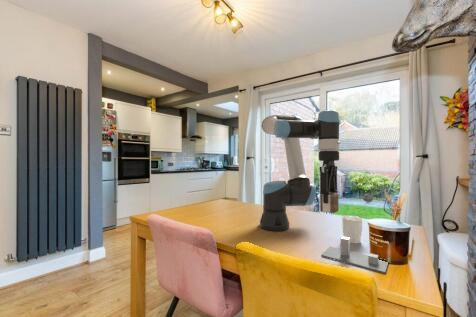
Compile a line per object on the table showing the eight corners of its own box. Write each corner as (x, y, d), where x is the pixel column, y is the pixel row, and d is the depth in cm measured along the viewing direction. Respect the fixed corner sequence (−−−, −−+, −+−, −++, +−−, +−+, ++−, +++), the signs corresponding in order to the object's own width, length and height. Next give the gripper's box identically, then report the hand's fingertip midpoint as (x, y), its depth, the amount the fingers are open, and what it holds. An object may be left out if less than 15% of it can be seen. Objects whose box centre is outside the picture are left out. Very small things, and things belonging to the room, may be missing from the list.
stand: (321, 256, 86) (321, 248, 86) (329, 247, 94) (329, 240, 94) (385, 273, 73) (385, 264, 73) (388, 262, 81) (389, 253, 81)
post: (340, 257, 85) (340, 238, 85) (342, 254, 87) (342, 236, 87) (348, 259, 84) (348, 239, 83) (349, 256, 86) (350, 237, 85)
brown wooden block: (320, 211, 90) (320, 194, 91) (325, 209, 94) (324, 192, 95) (334, 213, 87) (333, 195, 87) (338, 210, 91) (338, 193, 91)
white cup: (361, 245, 96) (361, 221, 96) (340, 241, 100) (340, 218, 100) (362, 239, 103) (363, 217, 103) (343, 236, 107) (343, 214, 107)
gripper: (330, 149, 82) (331, 216, 81) (345, 151, 96) (346, 208, 95) (310, 150, 87) (310, 213, 86) (327, 151, 101) (327, 205, 100)
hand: (329, 210), depth 91 cm, fingers closed on brown wooden block, 5 cm apart
